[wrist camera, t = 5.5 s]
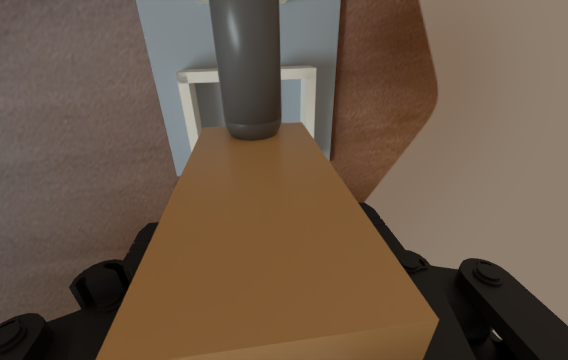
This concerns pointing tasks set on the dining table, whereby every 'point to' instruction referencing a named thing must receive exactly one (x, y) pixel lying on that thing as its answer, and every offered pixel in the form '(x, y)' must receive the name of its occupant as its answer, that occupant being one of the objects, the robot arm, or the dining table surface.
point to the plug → (265, 237)
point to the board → (204, 74)
